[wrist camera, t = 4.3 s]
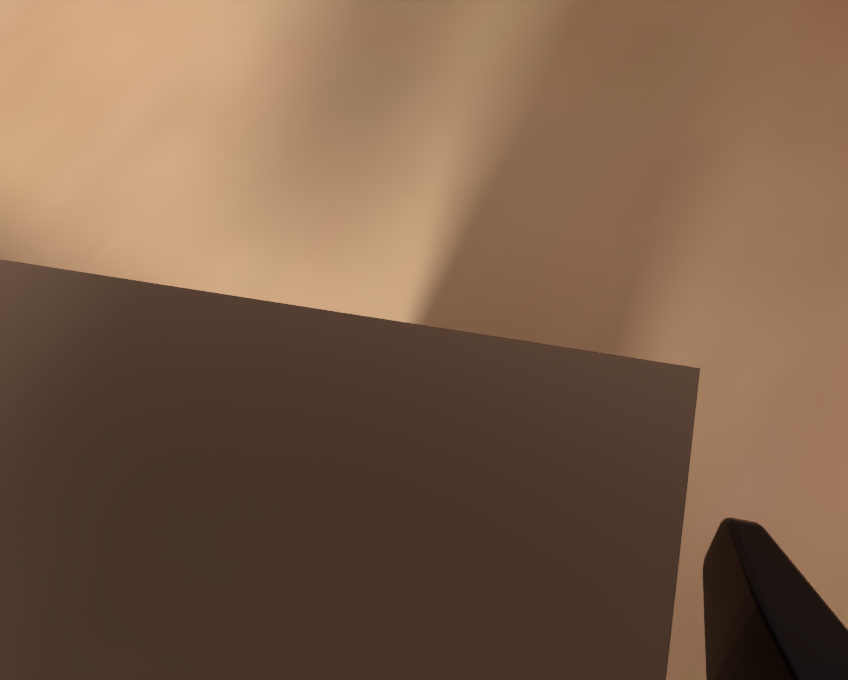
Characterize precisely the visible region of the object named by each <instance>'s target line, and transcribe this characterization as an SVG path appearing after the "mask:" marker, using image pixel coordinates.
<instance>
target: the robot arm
mask: <svg viewBox="0 0 848 680" xmlns="http://www.w3.org/2000/svg"><path fill="white" fill-rule="evenodd" d="M703 593H704V622H705V650H706V675H707V680H848V630H847V628H846V627H845V626H844V625H843V624H842V622H841V621H840V620H839V619H838V617H837V616H836V615H835V614H834V613H833V611H832V610H831V609H830V608H829V606H828V605H827V604H826V603H825V602H824V600H823V599H822V598H821V597H820V596H819V594H818V593H817V592H816V591H815V589H814V588H813V587H812V586H811V585H810V583H809V582H808V581H807V580H806V579H805V577H804V576H803V575H802V574H801V572H800V571H799V570H798V569H797V568H796V566H795V565H794V564H793V563H792V561H791V560H790V559H789V558H788V557H787V555H786V554H785V553H784V552H783V551H782V549H781V548H780V547H779V546H778V544H777V543H776V542H775V541H774V540H773V538H772V537H771V536H770V535H769V533H768V532H767V531H766V530H765V529H764V528H763V527H762V526H761V525H760V524H758V523H755V522H751V521H746V520H741V519H736V518H725V519H724V520H723V521H722V522H721V524H720V526H719V528H718V530H717V532H716V534H715V536H714V538H713V541H712V543H711V545H710V547H709V549H708V551H707V553H706V556H705V559H704V564H703Z"/></svg>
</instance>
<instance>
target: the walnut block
mask: <svg viewBox="0 0 848 680" xmlns="http://www.w3.org/2000/svg"><path fill="white" fill-rule="evenodd" d="M699 372H700V368H693V367H687V366H681V365H674V364H668V363H661V362H655V361H648V360H642V359H636V358H629V357H623V356H616V355H610V354H603V353H597V352H591V351H584V350H578V349H571V348H565V347H558V346H552V345H546V344H539V343H533V342H526V341H520V340H513V339H507V338H501V337H494V336H488V335H481V334H475V333H468V332H462V331H456V330H449V329H443V328H436V327H430V326H423V325H417V324H411V323H404V322H398V321H391V320H385V319H378V318H372V317H366V316H359V315H353V314H346V313H340V312H333V311H327V310H321V309H314V308H308V307H301V306H295V305H288V304H282V303H276V302H269V301H263V300H256V299H250V298H243V297H237V296H231V295H224V294H218V293H211V292H205V291H198V290H192V289H186V288H179V287H173V286H166V285H160V284H153V283H147V282H141V281H134V280H128V279H121V278H115V277H108V276H102V275H96V274H89V273H83V272H76V271H70V270H63V269H57V268H51V267H44V266H38V265H31V264H25V263H18V262H12V261H6V260H0V680H666V673H667V664H668V654H669V645H670V636H671V627H672V618H673V609H674V600H675V591H676V582H677V573H678V563H679V554H680V545H681V536H682V527H683V518H684V509H685V500H686V491H687V482H688V473H689V463H690V454H691V445H692V436H693V427H694V418H695V409H696V400H697V391H698V382H699Z"/></svg>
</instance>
